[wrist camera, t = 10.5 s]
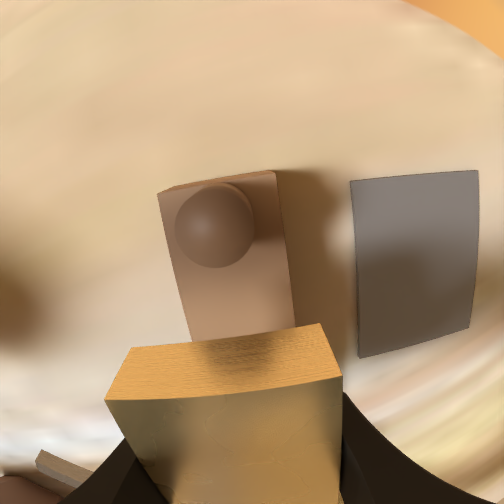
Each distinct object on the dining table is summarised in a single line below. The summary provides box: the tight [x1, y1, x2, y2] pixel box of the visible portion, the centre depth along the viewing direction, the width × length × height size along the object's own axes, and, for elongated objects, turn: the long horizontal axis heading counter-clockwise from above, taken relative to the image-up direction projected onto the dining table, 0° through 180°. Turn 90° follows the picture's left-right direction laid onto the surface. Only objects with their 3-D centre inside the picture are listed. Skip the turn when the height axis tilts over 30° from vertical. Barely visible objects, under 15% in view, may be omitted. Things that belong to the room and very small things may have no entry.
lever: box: [35, 449, 94, 488], centre depth 14 cm, size 15×2×4 cm, turn 73°
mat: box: [350, 170, 479, 359], centre depth 16 cm, size 10×8×1 cm
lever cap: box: [104, 323, 343, 504], centre depth 8 cm, size 7×5×2 cm
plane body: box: [157, 170, 295, 342], centre depth 15 cm, size 19×4×6 cm, turn 9°
